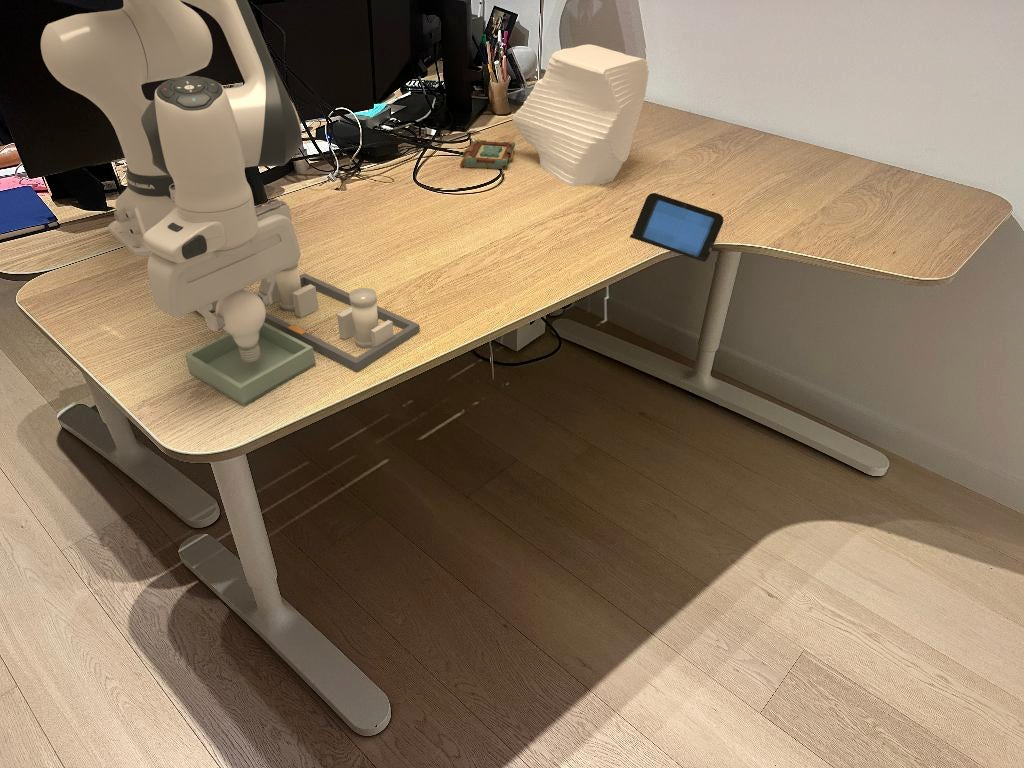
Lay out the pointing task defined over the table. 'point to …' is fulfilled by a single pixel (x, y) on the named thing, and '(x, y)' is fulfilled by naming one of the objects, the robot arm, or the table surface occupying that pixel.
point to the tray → (251, 364)
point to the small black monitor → (677, 226)
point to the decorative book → (487, 154)
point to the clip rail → (342, 324)
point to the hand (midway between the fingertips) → (241, 316)
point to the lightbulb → (243, 321)
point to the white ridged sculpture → (584, 113)
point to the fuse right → (364, 315)
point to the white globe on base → (288, 286)
